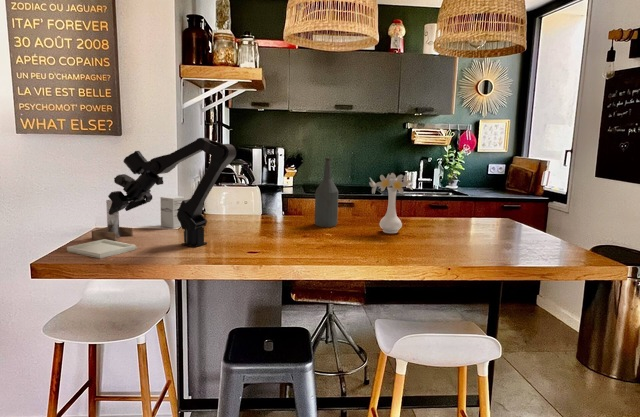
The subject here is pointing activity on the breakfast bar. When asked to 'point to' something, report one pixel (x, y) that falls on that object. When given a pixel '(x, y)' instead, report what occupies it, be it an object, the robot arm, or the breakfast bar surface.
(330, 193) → the bottle
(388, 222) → the flower vase
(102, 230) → the brown u-shaped frame
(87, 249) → the tray
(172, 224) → the supplement box
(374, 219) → the breakfast bar surface
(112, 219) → the pin
